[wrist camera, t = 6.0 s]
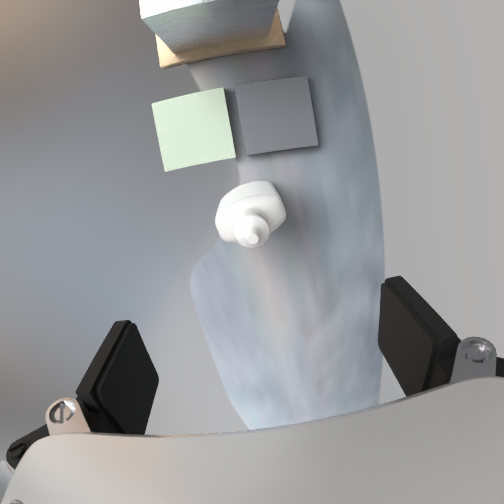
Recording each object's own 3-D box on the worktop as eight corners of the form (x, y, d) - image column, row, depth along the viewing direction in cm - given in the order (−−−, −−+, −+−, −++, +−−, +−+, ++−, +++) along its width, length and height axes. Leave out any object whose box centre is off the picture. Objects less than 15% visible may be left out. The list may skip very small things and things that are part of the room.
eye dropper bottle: (223, 174, 30) (212, 200, 19) (279, 182, 30) (302, 212, 19) (218, 216, 31) (205, 265, 20) (272, 223, 32) (289, 274, 21)
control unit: (155, 13, 23) (116, -35, 12) (271, -8, 22) (285, -68, 12) (163, 69, 25) (121, 38, 15) (283, 47, 25) (307, 3, 14)
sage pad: (154, 104, 27) (151, 103, 26) (223, 88, 26) (223, 87, 25) (167, 170, 29) (165, 171, 28) (235, 156, 29) (235, 157, 28)
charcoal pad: (233, 86, 26) (233, 85, 25) (305, 77, 26) (306, 76, 25) (246, 154, 29) (246, 155, 28) (315, 144, 29) (318, 145, 28)
